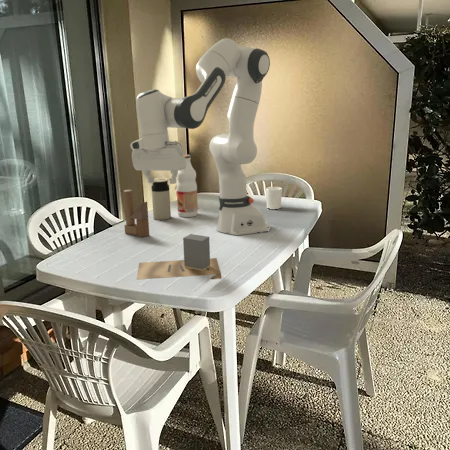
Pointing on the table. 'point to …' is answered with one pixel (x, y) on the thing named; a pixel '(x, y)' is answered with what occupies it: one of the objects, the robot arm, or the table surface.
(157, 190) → the travel mug
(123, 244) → the table surface
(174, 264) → the oak board
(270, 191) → the white cup
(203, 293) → the table surface
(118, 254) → the table surface
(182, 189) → the fruit juice
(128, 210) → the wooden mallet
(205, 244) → the block
